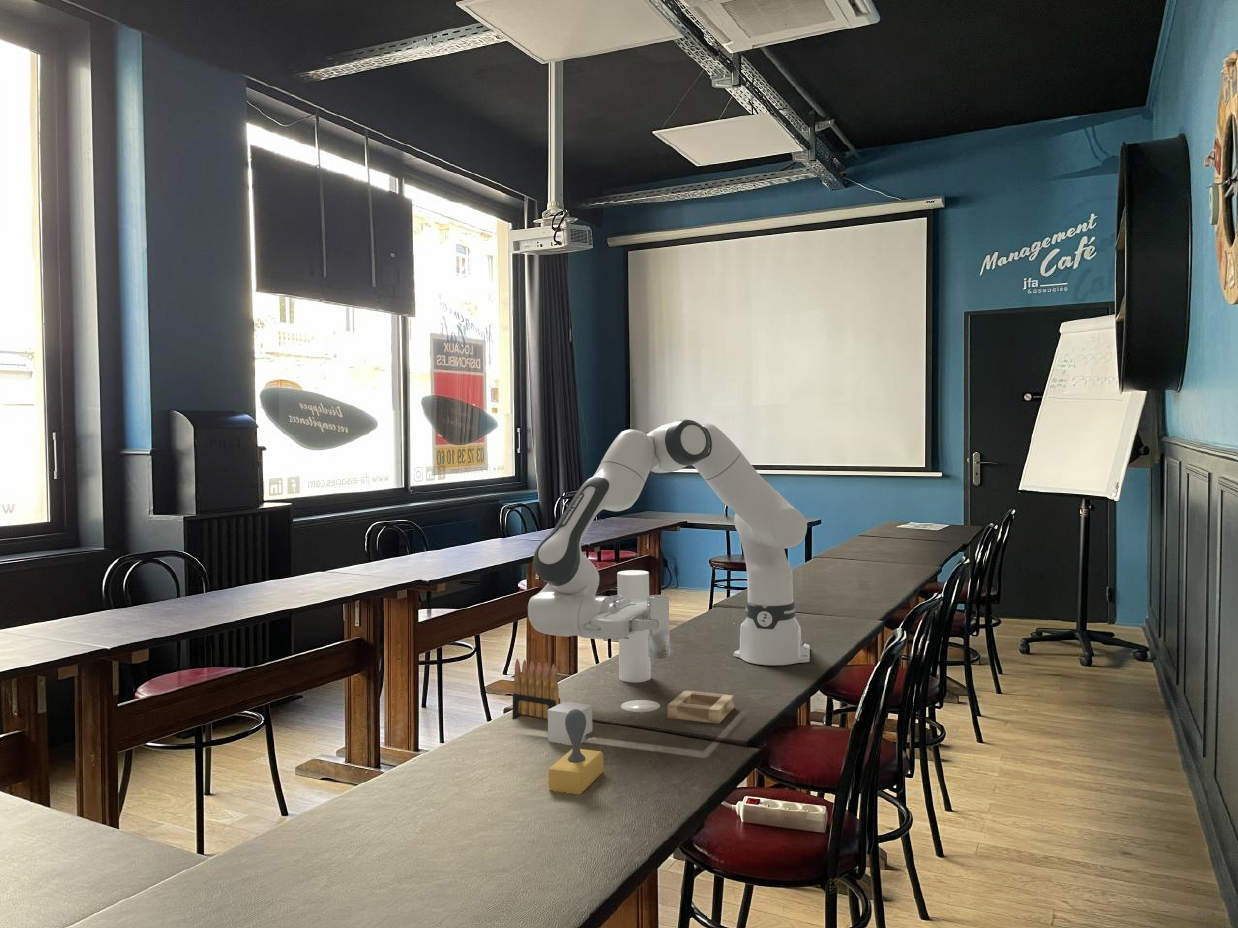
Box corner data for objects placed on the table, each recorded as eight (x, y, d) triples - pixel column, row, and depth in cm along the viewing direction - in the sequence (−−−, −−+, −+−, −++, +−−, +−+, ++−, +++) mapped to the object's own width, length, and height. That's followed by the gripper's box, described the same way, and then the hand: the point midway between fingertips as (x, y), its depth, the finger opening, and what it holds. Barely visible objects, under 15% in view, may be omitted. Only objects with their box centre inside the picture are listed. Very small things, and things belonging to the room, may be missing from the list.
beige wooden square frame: (685, 707, 187) (684, 690, 187) (734, 712, 183) (733, 695, 183) (667, 722, 178) (667, 704, 178) (718, 728, 174) (718, 710, 174)
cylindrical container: (647, 687, 202) (645, 575, 201) (616, 685, 204) (614, 574, 203) (653, 678, 209) (651, 570, 208) (622, 677, 211) (620, 570, 210)
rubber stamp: (581, 795, 144) (579, 720, 143) (548, 790, 146) (546, 716, 145) (604, 772, 153) (602, 701, 152) (572, 768, 155) (570, 699, 154)
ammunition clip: (561, 723, 179) (560, 663, 178) (556, 726, 177) (554, 665, 176) (517, 715, 184) (516, 657, 183) (512, 718, 182) (510, 659, 182)
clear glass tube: (653, 652, 187) (651, 594, 186) (673, 653, 185) (671, 595, 184) (645, 657, 183) (643, 598, 182) (665, 659, 181) (664, 599, 180)
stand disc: (630, 702, 191) (630, 698, 191) (665, 706, 188) (665, 702, 188) (614, 714, 184) (614, 709, 184) (651, 718, 180) (651, 713, 180)
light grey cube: (575, 746, 166) (575, 714, 165) (548, 741, 169) (547, 709, 168) (592, 736, 171) (591, 704, 171) (565, 731, 174) (564, 700, 174)
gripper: (577, 612, 179) (642, 616, 173) (619, 593, 198) (679, 596, 192) (578, 644, 179) (643, 649, 174) (620, 622, 198) (679, 626, 192)
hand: (662, 621), depth 183 cm, fingers closed on clear glass tube, 4 cm apart
